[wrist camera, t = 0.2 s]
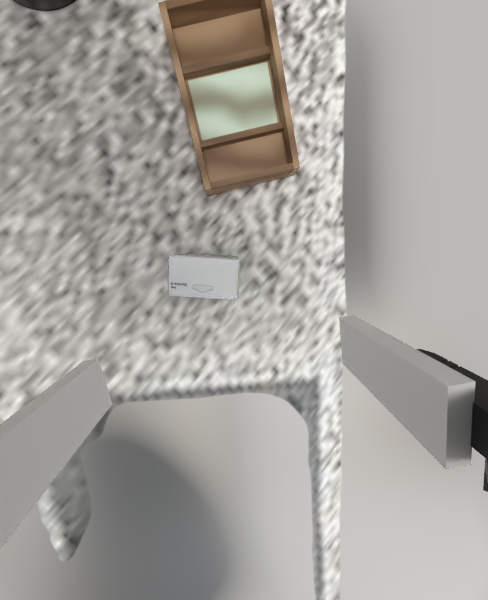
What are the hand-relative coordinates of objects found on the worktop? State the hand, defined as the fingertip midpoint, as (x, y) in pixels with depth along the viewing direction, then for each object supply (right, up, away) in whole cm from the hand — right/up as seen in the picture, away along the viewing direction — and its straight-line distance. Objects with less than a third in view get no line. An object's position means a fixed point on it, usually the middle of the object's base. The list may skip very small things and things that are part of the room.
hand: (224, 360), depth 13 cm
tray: (0, +31, +22) cm, 38 cm away
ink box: (-4, +8, +26) cm, 28 cm away
